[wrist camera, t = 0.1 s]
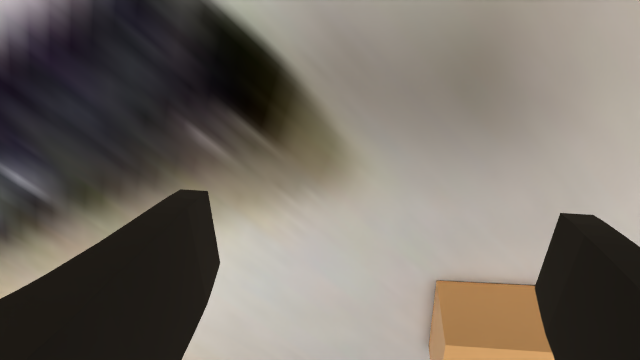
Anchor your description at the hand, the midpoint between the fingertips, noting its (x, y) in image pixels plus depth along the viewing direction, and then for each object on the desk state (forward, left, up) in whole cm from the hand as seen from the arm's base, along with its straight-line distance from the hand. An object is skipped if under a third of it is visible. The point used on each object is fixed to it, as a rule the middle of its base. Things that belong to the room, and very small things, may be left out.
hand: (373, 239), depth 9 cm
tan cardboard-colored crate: (-13, -6, -10) cm, 18 cm away
